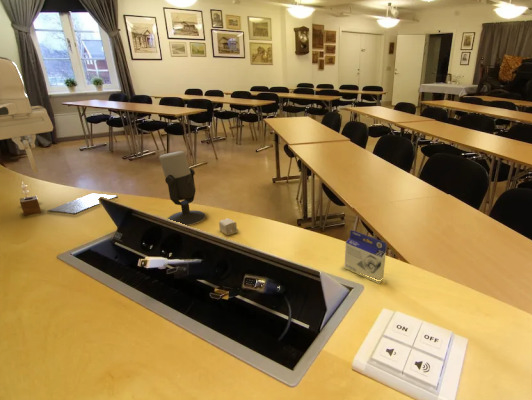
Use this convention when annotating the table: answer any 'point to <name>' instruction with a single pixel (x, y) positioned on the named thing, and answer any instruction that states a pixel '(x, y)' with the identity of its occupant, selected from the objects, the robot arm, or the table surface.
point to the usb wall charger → (228, 226)
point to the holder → (30, 205)
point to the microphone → (181, 186)
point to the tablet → (81, 204)
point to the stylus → (30, 157)
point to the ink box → (365, 256)
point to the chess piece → (25, 189)
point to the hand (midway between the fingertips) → (27, 148)
